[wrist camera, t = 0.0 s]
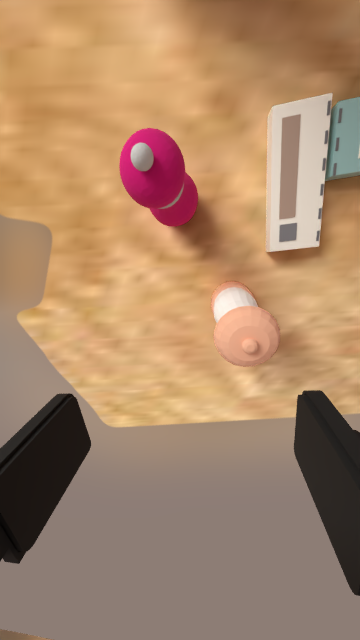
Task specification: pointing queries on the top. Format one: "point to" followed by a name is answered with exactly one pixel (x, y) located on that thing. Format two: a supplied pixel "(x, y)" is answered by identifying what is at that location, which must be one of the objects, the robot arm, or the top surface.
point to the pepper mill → (158, 176)
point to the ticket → (296, 172)
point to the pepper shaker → (242, 326)
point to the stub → (344, 140)
